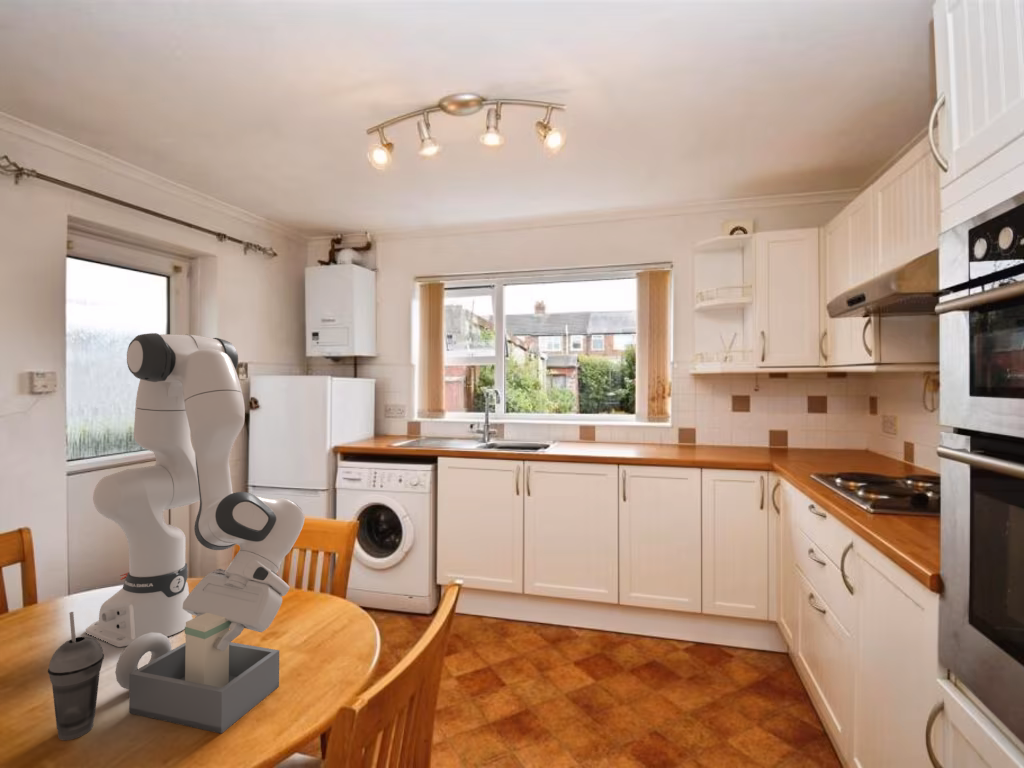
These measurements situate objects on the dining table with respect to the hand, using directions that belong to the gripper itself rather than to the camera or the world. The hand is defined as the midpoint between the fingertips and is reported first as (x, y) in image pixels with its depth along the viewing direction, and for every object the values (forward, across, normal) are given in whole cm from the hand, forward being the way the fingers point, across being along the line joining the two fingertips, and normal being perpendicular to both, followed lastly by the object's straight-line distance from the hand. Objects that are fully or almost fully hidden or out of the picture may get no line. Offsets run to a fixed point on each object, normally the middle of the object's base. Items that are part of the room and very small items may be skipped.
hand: (204, 645), depth 95 cm
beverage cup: (+17, -12, -2) cm, 21 cm away
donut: (+8, -15, +7) cm, 18 cm away
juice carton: (+6, 0, +7) cm, 9 cm away
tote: (+7, 0, +8) cm, 10 cm away
